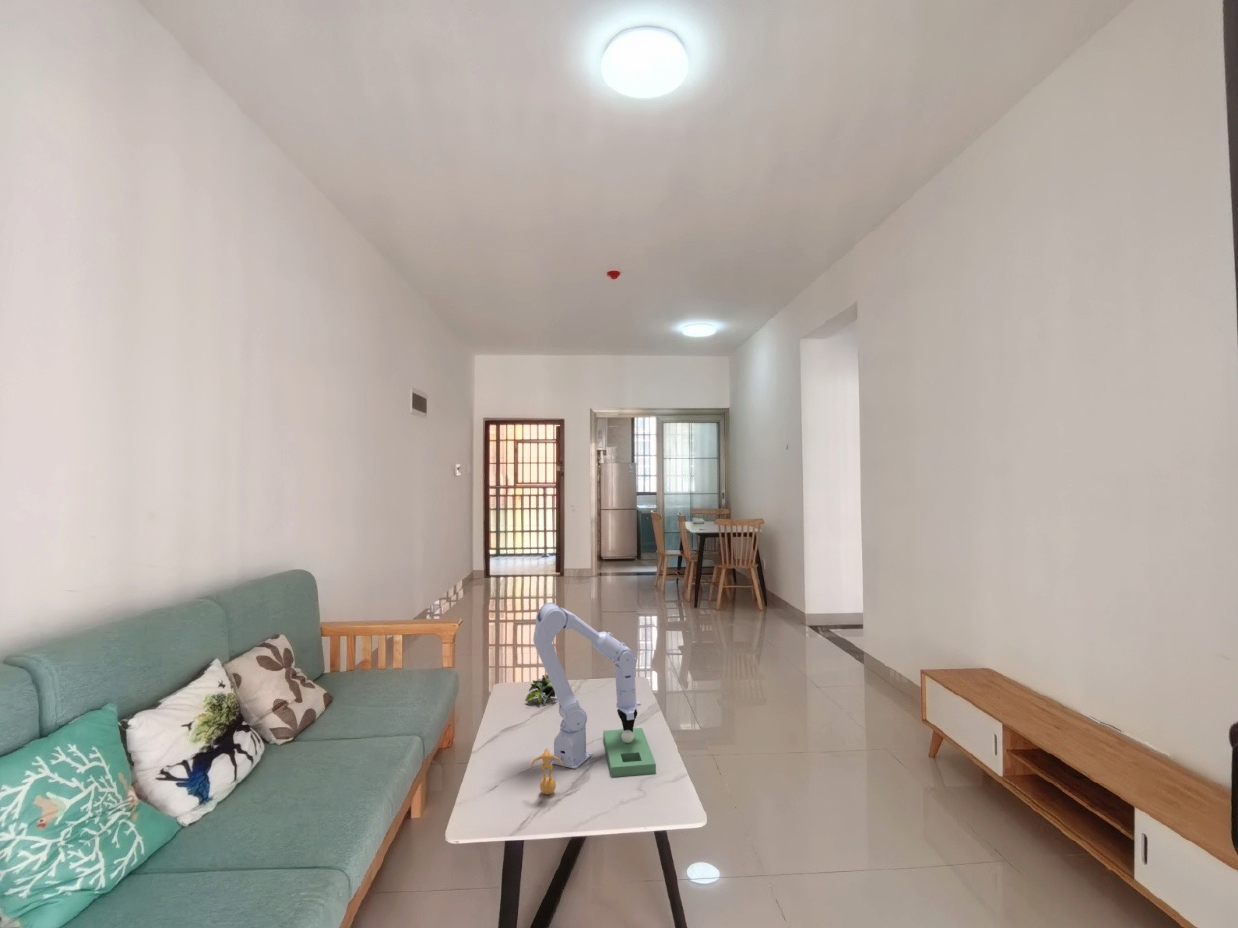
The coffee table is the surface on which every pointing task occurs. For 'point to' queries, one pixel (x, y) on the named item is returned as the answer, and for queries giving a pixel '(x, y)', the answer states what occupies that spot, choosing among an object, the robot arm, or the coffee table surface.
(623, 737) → the ball
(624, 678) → the robot arm
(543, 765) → the figurine
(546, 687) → the passion flower
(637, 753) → the putting mat
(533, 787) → the coffee table surface
